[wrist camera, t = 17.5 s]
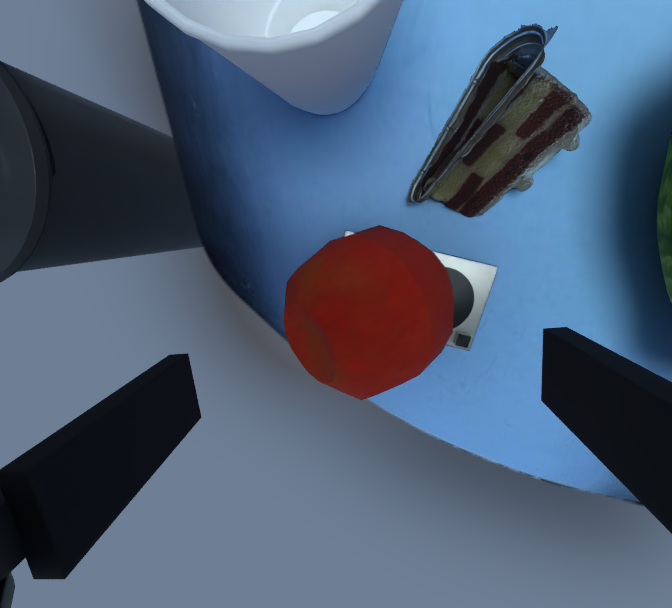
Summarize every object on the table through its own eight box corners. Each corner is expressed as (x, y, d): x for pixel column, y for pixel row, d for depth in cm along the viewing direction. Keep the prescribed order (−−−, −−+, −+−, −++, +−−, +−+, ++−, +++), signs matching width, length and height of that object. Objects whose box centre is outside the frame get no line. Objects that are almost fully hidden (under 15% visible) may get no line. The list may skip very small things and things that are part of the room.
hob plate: (327, 311, 30) (324, 317, 28) (346, 230, 28) (344, 230, 26) (465, 346, 29) (472, 354, 27) (493, 265, 28) (502, 268, 26)
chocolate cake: (472, 254, 28) (652, 150, 18) (402, 212, 26) (561, 66, 16) (478, 173, 32) (624, 53, 23) (417, 131, 30) (550, -22, 20)
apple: (319, 435, 23) (422, 354, 30) (410, 413, 15) (524, 307, 21) (242, 307, 24) (356, 256, 31) (287, 223, 16) (429, 178, 23)
